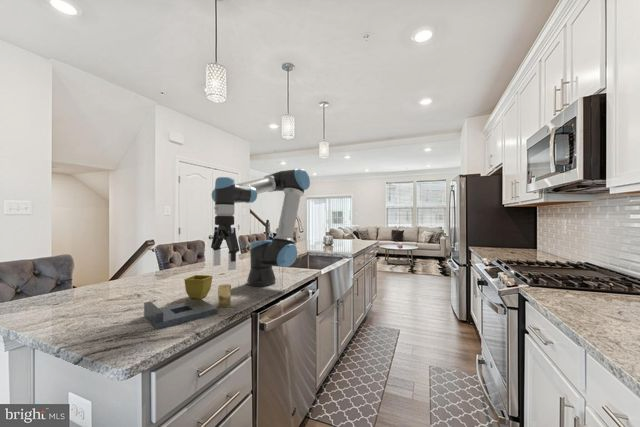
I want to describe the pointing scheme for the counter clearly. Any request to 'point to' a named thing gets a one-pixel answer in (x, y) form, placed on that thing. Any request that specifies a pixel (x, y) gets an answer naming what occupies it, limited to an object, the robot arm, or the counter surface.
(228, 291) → the bushing
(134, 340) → the counter surface
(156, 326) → the jig
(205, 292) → the flower pot
